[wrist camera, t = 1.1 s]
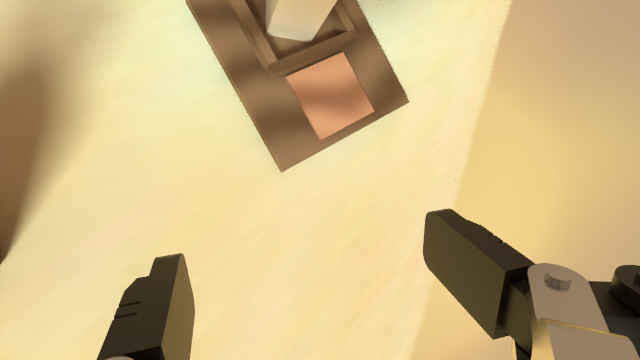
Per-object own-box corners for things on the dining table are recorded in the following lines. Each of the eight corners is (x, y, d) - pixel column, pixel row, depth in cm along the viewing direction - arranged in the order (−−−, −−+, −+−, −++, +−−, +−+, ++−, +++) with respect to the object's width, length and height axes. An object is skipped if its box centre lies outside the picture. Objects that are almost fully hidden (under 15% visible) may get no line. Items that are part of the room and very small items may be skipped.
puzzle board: (185, 2, 36) (185, -18, 33) (326, -42, 42) (336, -63, 39) (281, 172, 37) (288, 168, 34) (403, 105, 44) (419, 96, 41)
